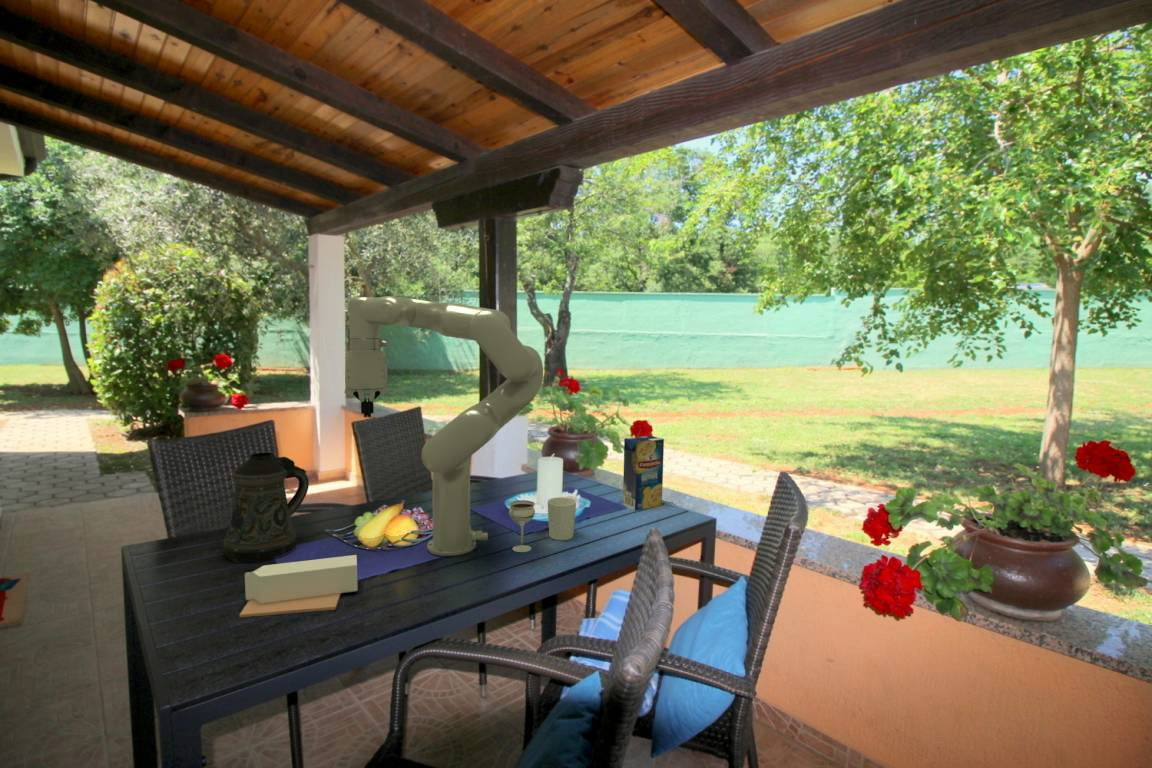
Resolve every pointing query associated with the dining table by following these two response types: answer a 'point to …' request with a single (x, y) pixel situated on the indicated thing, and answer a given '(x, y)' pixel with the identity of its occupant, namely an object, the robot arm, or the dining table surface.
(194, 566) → the dining table surface
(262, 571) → the milk
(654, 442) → the blue cardboard tall box
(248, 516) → the beer stein
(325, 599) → the mat
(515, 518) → the wineglass
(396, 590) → the dining table surface
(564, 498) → the beige tumbler cup
